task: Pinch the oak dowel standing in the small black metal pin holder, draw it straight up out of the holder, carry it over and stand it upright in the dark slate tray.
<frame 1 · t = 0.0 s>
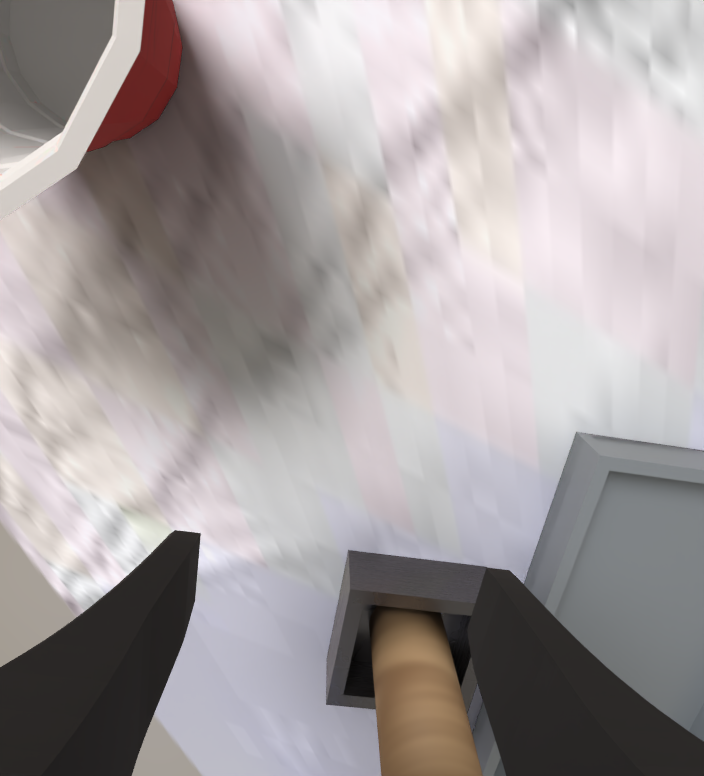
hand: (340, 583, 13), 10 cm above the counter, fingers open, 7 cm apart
pin holder: (404, 614, 26), on the counter
plastic cup: (101, 54, 18), on the counter
oak dowel: (405, 623, 26), point 1 cm above the counter, touching pin holder
slate tray: (626, 623, 27), on the counter
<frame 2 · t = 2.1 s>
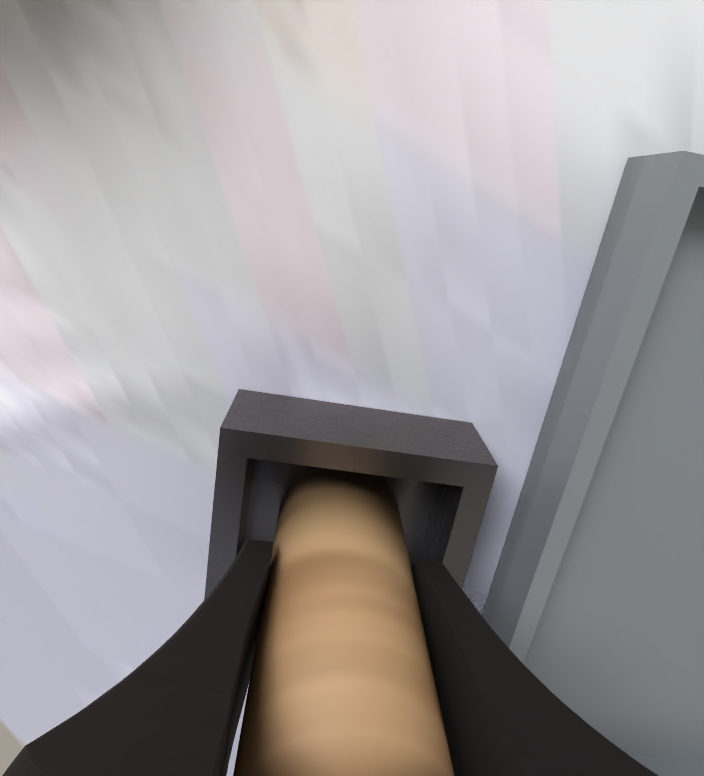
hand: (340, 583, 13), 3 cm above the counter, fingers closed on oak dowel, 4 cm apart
pin holder: (338, 507, 16), on the counter
oak dowel: (339, 518, 16), point 1 cm above the counter, touching gripper, pin holder
slate tray: (696, 525, 17), on the counter
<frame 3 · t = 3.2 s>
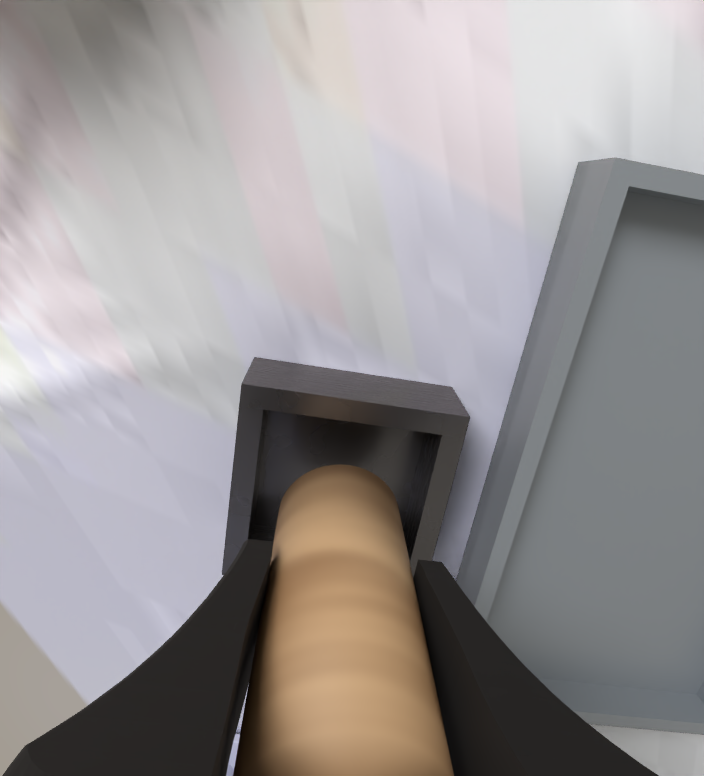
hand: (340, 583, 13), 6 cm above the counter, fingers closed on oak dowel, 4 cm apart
pin holder: (338, 460, 19), on the counter
oak dowel: (338, 518, 16), point 4 cm above the counter, touching gripper
slate tray: (646, 478, 20), on the counter
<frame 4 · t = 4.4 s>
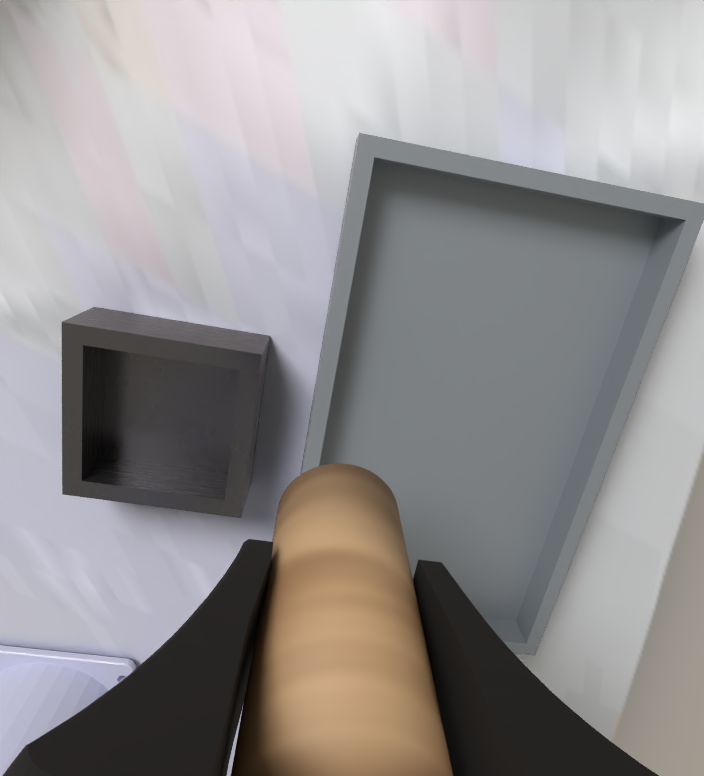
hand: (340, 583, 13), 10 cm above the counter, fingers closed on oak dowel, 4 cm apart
pin holder: (177, 401, 22), on the counter
oak dowel: (338, 517, 16), point 7 cm above the counter, touching gripper
slate tray: (451, 421, 22), on the counter
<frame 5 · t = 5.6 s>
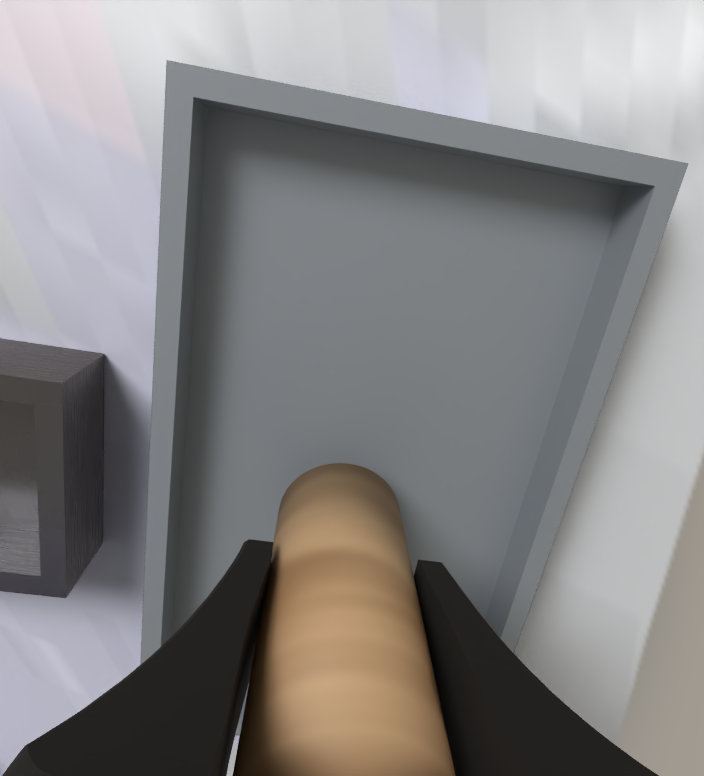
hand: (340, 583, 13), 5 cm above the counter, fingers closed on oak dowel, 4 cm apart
oak dowel: (339, 516, 16), point 2 cm above the counter, touching gripper
slate tray: (358, 461, 17), on the counter
when the fingers open (5 cm above the counter, at t = 6.4 s): oak dowel stays where it is, resting on slate tray.
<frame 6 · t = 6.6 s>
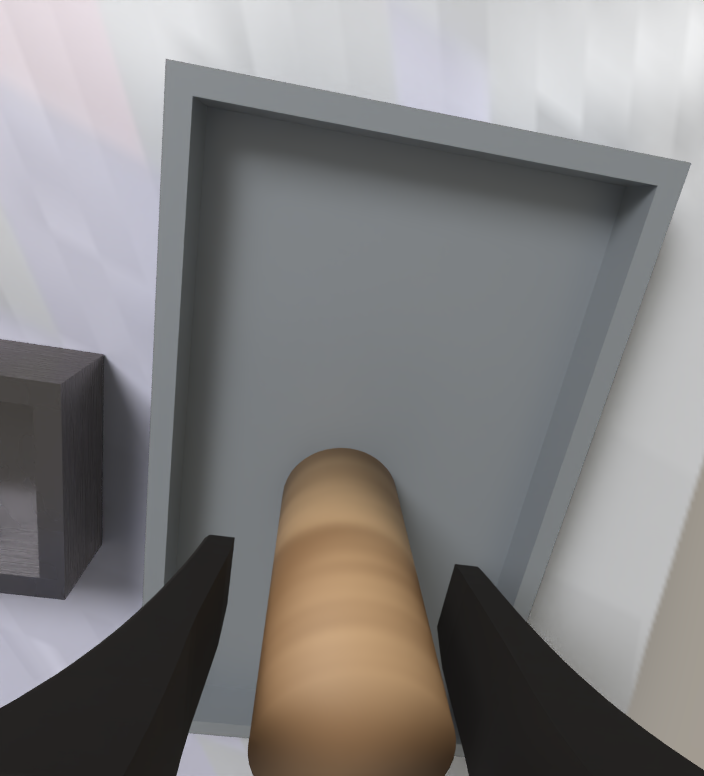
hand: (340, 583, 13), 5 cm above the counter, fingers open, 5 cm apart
oak dowel: (339, 499, 17), point 1 cm above the counter, touching slate tray
slate tray: (358, 462, 17), on the counter
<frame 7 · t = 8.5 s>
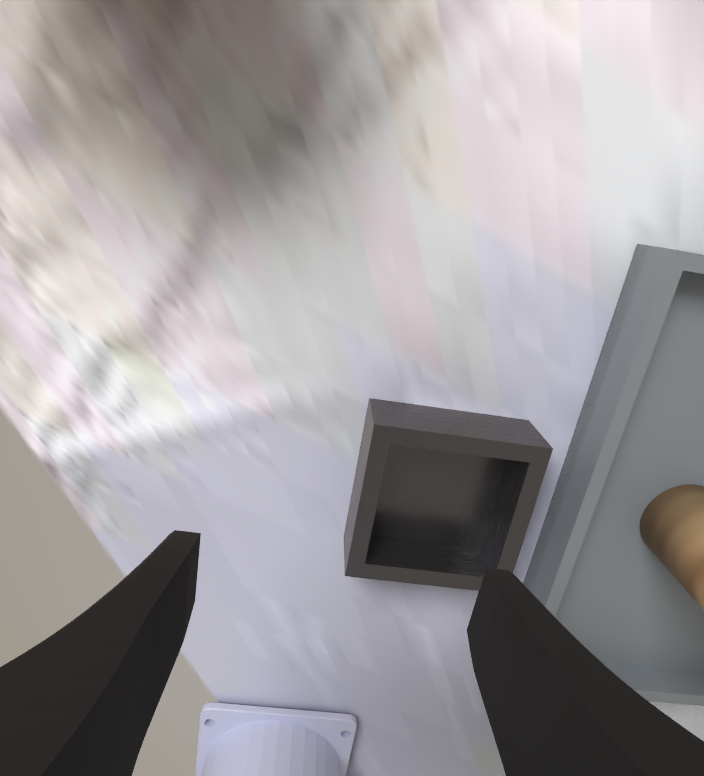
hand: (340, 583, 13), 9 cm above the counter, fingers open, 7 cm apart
pin holder: (432, 480, 23), on the counter
oak dowel: (680, 520, 23), point 1 cm above the counter, touching slate tray
slate tray: (686, 492, 24), on the counter
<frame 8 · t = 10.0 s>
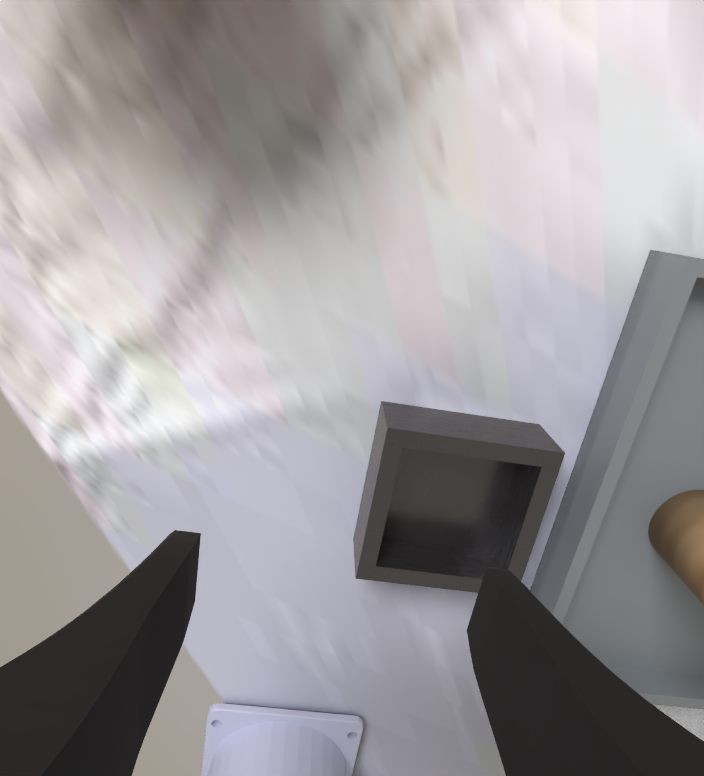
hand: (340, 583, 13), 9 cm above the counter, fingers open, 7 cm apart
pin holder: (443, 483, 23), on the counter
oak dowel: (689, 525, 23), point 1 cm above the counter, touching slate tray
slate tray: (695, 497, 24), on the counter
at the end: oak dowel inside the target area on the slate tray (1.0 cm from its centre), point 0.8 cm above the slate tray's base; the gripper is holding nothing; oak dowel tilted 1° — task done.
